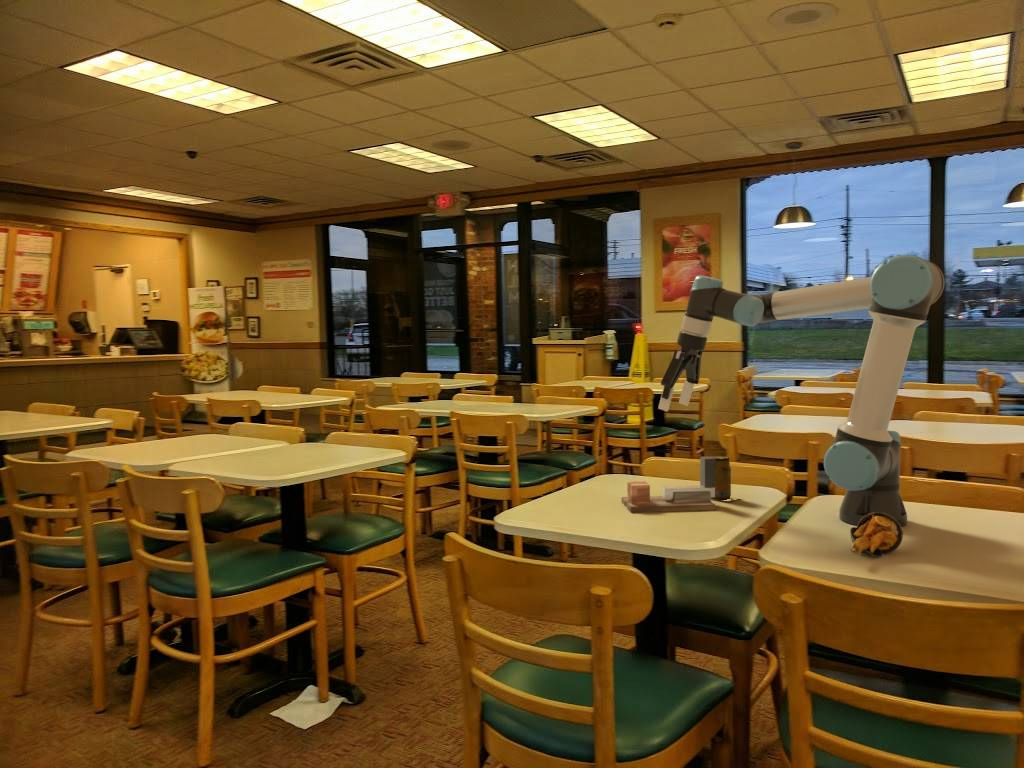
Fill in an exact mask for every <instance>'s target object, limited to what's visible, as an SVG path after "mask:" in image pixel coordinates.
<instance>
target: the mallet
mask: <svg viewBox="0 0 1024 768" xmlns="http://www.w3.org/2000/svg"><path fill="white" fill-rule="evenodd" d="M699 459H700V460H699V463H700V464H699V465H700V466H699V467H700V468H699V470H700V471H699V472H700V473H699V474H700V476H699V477H700V478H699V479H700V481H699V482H700V483H699V484H698V485H670V486H667V485H666V486H665V485H664V486H663V485H662V486H661V492H662V493H661V496H662V497H663V498H665V499H671V498H674V493H691V492H711V497H715V488H716V459H715V458H713V456H710V455H709V456H699Z"/></svg>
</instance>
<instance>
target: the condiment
mask: <svg viewBox="0 0 1024 768" xmlns="http://www.w3.org/2000/svg"><path fill="white" fill-rule="evenodd" d="M712 457H713V458H715V459H716V488H715V497H711V500H712V501H718V502H721V501H720V500H727V499H730V497H732V493H731V492H732V468H731V466H730V464H731V462H730V457H728V456H723V455H714V456H712ZM733 497H734V498H738V497H736V496H733ZM724 502H726V503H731V502H730V501H724Z"/></svg>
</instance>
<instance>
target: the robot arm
mask: <svg viewBox="0 0 1024 768" xmlns="http://www.w3.org/2000/svg"><path fill="white" fill-rule="evenodd" d="M945 282H946V281H945V277H944V273H943V272H942V270H941V269H940V267H939V266H938V265H936V264H935V263H933V262H932V261H930V260H927V259H923V258H921V257H919V256H915V255H908V254H907V255H906V254H902V255H895V256H893V257H890V258H887V259H886V260H883V262H881V263H880V264H879V265H878V266H877V267H876V268H875V270H874V272H872V275H871V276H868V277H863V278H862V277H861V278H857V279H856V278H855V279H850V280H843V281H837V282H831V283H824V284H819V285H812V286H807V287H806V286H805V287H801V288H800V287H799V288H793V289H788V290H787V289H786V290H782V291H775V292H768V293H760V294H749V293H741V292H737V291H733V290H728V289H725V288H723V285H724V282H723V280H721V279H718V278H716V277H710V276H706V275H696V277H695V278H694V281H693V283H692V286H691V289H690V290H689V291H690V292H689V293H690V294H689V298H688V301H687V303H686V304H687V306H686V309H685V312H684V316H683V317H682V318H681V320H682V323H681V326H680V328H681V330H680V331H679V334H678V337H677V340H676V344H677V345H678V346H680V347H681V348H680V350H674V353H673V356H672V358H671V360H670V363H669V364H668V367H667V369H666V371H665V373H664V375H663V377H662V380H661V382H660V385H661V386H663V389H662V392H661V395H660V400H659V403H658V408H657V409H658V410H661V411H664V412H668V411H669V410H670V406H671V402H672V398H673V396H674V395H673V394H674V391H675V388H674V387H675V385H676V383H677V381H678V380H679V378H680V376H681V375H682V373H683V371H685V377H686V378H685V379H686V380H685V381H684V383H683V386H682V390H681V393H680V396H679V400H678V404H679V405H683V406H686V407H689V404H690V401H691V397H692V394H693V390H694V387H695V385H698V384H699V380H700V374H701V373H700V372H701V365H702V363H701V361H702V355H703V351H704V350H705V348H706V344H707V342H708V337H707V336H709V334H710V331H711V327H712V324H713V320H714V318H719V319H723V320H726V321H729V322H733V323H735V324H738V325H739V326H747V327H750V328H751V327H755V326H757V324H766V323H770V322H774V321H780V320H787V319H796V318H805V317H812V316H819V315H827V314H833V313H843V312H849V311H856V310H857V311H858V310H864V309H865V310H866V309H868V314H869V316H870V317H871V318H872V321H873V322H872V325H871V329H870V333H869V336H868V340H867V344H866V347H865V352H864V356H863V359H862V363H861V367H860V371H859V373H858V374H859V375H858V378H857V382H856V385H855V389H854V393H853V397H852V401H851V404H850V408H849V413H848V417H847V419H846V421H845V422H843V423H841V424H839V425H838V427H837V430H836V433H835V438H834V441H833V444H832V445H831V446H830V447H829V448H828V449H827V450H826V452H825V455H824V458H823V468H824V469H823V470H824V472H825V473H826V475H827V477H828V478H829V480H830V481H831V483H833V484H835V485H836V486H837V487H839V488H841V489H843V490H846V491H845V494H844V497H843V498H842V502H841V504H840V507H839V514H838V515H839V516H838V517H839V519H840V520H841V521H842V522H845V523H847V524H850V525H854V526H857V525H858V523H859V521H860V520H861V519H862V518H863V517H864V516H865V515H867V514H869V513H872V512H883V513H887V514H889V515H891V516H892V517H894V518H895V519H896V520H897V521H898V522H899V524H900V526H901V528H902V527H904V526H907V525H908V514H907V510H906V507H905V505H904V502H903V498H902V496H901V491H900V483H901V482H900V479H901V478H900V477H901V475H900V474H901V446H902V443H901V435H900V434H899V432H898V431H895V430H888V428H889V425H890V421H891V417H892V415H893V411H894V406H895V403H896V399H897V395H898V392H899V389H900V385H901V383H902V377H903V375H904V371H905V367H906V364H907V362H908V361H907V360H908V357H909V353H910V350H911V346H912V341H913V338H914V335H915V332H916V329H917V327H919V326H921V325H922V324H925V323H926V322H927V318H928V315H929V311H930V307H931V305H933V304H935V303H936V302H937V301H938V299H939V298H940V297H941V296H942V293H943V291H944V288H945Z"/></svg>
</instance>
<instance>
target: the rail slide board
mask: <svg viewBox="0 0 1024 768" xmlns="http://www.w3.org/2000/svg"><path fill="white" fill-rule="evenodd" d="M626 485H627V486H626V487H627V488H626V489H627V490H626V491H627V493H626V496H622V497H621V503H622V505H623V504H624V505H625V506H626V507H627V508H626V507H625V506H624V505H623V506H624V507H625V508H626V509H627V510H628V511H629V512H630V513H652V512H651V511H656V513H658V512H657V511H662V512H688V511H687V510H691V511H715V510H716V504H715V503H714V502H712V501H711V492H691V493H674V498H671V499H665V498H663V497H662V495H655V496H654V495H651V485H650V484H649V483H648V482H647V481H645V480H636V481H635V480H634V481H631V480H629V481H626ZM691 511H690V512H691Z"/></svg>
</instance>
